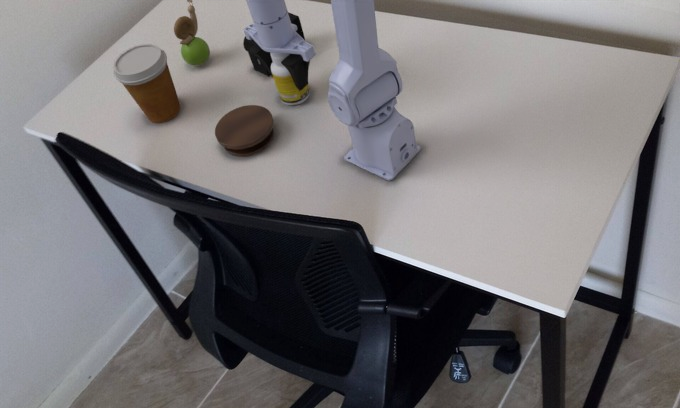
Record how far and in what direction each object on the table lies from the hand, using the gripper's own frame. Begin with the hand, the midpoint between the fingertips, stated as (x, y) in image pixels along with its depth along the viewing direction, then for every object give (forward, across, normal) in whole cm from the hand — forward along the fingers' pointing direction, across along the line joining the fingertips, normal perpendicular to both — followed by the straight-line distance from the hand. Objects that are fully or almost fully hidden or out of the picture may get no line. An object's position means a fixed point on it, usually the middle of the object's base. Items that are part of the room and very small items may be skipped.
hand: (291, 81), depth 117 cm
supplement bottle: (+4, 0, 0) cm, 4 cm away
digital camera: (+4, +11, -7) cm, 14 cm away
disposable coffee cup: (+4, +20, +15) cm, 25 cm away
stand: (+3, 0, +12) cm, 12 cm away
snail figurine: (+4, +25, +1) cm, 25 cm away
